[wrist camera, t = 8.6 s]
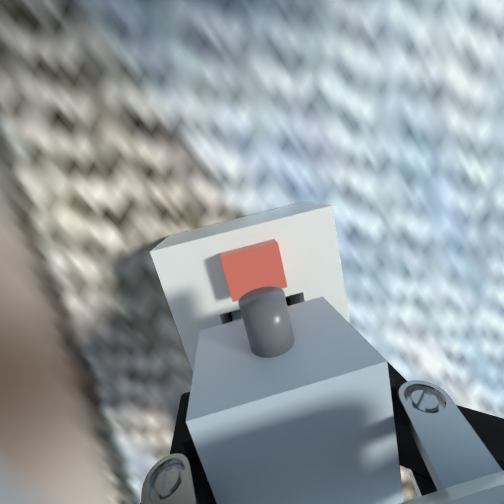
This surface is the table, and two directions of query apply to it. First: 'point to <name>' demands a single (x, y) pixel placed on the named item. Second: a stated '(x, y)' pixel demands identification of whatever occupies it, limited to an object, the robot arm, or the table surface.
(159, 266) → the power strip
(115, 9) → the table surface
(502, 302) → the table surface
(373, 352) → the grey plug
